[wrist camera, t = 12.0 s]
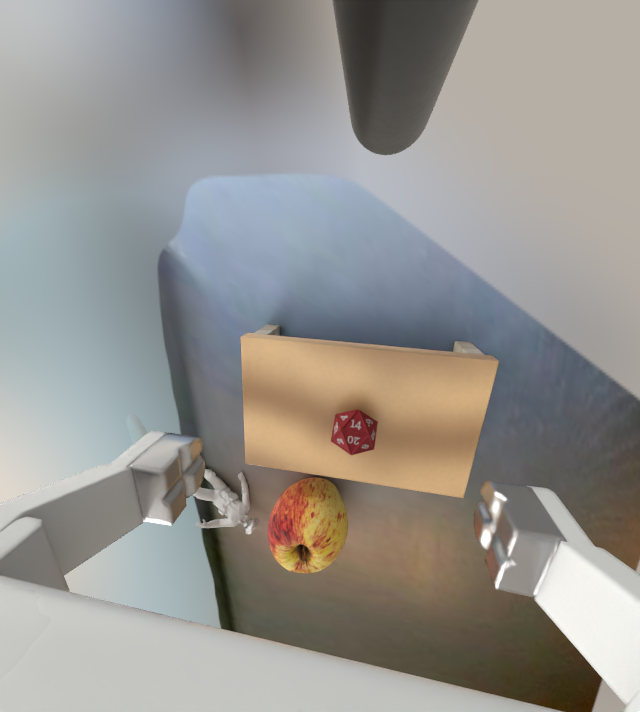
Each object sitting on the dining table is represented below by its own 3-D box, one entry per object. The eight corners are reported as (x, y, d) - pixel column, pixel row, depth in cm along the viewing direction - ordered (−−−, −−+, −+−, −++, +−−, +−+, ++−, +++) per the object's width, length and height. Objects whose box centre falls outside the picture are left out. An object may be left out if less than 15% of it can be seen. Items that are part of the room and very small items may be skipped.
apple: (298, 449, 38) (274, 513, 28) (363, 479, 37) (360, 553, 28) (275, 498, 41) (246, 570, 31) (334, 526, 41) (323, 607, 31)
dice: (380, 401, 27) (381, 425, 23) (371, 443, 28) (371, 472, 24) (338, 394, 27) (333, 416, 23) (332, 436, 29) (326, 463, 25)
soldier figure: (208, 440, 41) (272, 501, 37) (218, 448, 45) (276, 503, 42) (161, 488, 38) (226, 560, 34) (176, 492, 42) (235, 555, 39)
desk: (264, 321, 33) (240, 336, 27) (473, 339, 30) (499, 361, 24) (265, 430, 37) (245, 463, 31) (447, 455, 34) (463, 498, 28)
